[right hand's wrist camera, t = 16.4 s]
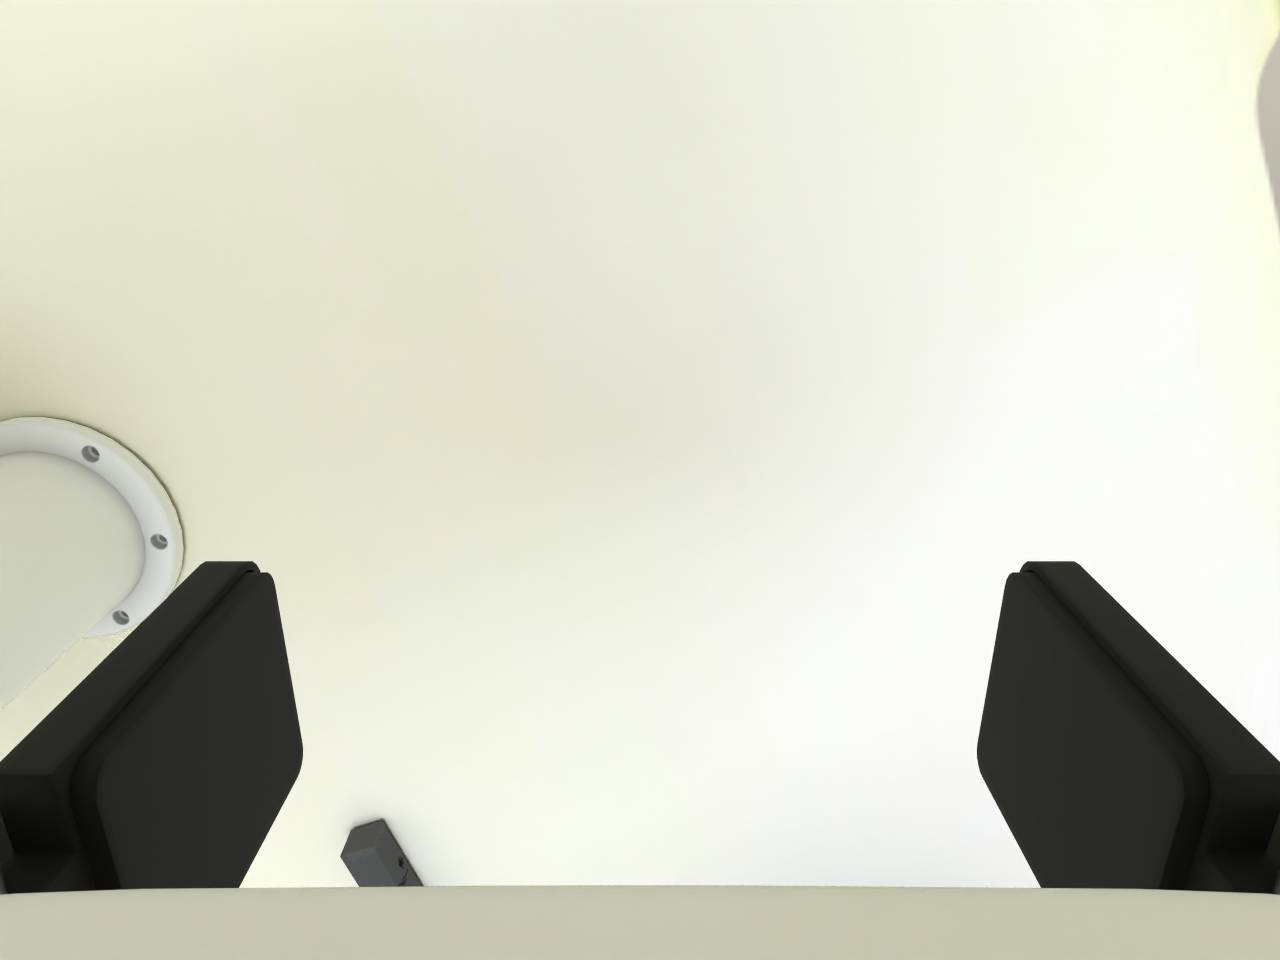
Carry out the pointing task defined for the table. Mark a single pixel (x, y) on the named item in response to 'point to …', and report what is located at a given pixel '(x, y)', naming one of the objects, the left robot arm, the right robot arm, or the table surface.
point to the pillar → (377, 858)
